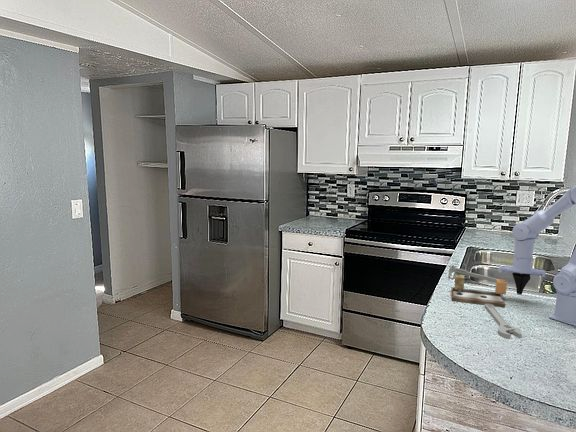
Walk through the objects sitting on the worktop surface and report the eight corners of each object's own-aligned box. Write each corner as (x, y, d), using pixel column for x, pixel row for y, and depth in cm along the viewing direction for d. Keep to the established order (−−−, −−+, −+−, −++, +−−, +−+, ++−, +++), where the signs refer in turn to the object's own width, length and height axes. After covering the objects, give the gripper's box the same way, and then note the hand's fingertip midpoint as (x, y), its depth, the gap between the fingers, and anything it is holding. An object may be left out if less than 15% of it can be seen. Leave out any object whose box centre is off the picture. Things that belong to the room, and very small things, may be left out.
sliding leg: (504, 292, 150) (505, 280, 149) (507, 299, 142) (508, 286, 141) (495, 290, 151) (496, 279, 150) (497, 298, 143) (499, 285, 142)
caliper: (448, 279, 172) (449, 264, 171) (448, 278, 173) (449, 264, 172) (501, 283, 167) (502, 268, 166) (500, 282, 168) (501, 267, 167)
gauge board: (500, 296, 151) (501, 278, 150) (504, 307, 140) (506, 288, 139) (451, 290, 157) (452, 273, 156) (451, 300, 146) (453, 282, 145)
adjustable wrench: (483, 307, 142) (483, 302, 141) (503, 309, 140) (504, 304, 140) (500, 338, 118) (500, 332, 117) (524, 341, 116) (525, 335, 116)
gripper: (543, 256, 145) (539, 292, 147) (498, 252, 150) (495, 287, 152) (548, 261, 139) (544, 299, 141) (501, 257, 144) (497, 293, 146)
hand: (519, 293), depth 146 cm, fingers closed
